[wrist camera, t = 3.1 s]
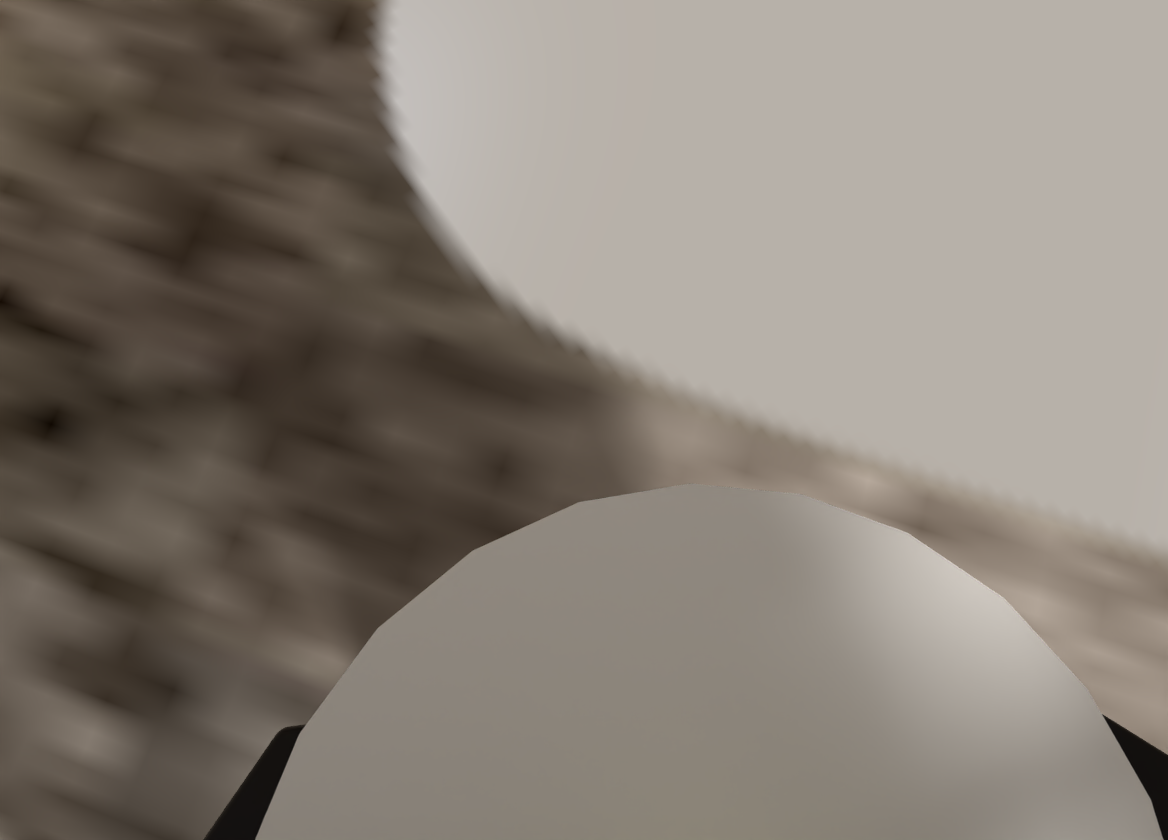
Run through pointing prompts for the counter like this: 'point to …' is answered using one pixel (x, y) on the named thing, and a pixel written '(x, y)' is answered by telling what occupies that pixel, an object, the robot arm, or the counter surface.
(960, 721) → the candle
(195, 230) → the counter surface
